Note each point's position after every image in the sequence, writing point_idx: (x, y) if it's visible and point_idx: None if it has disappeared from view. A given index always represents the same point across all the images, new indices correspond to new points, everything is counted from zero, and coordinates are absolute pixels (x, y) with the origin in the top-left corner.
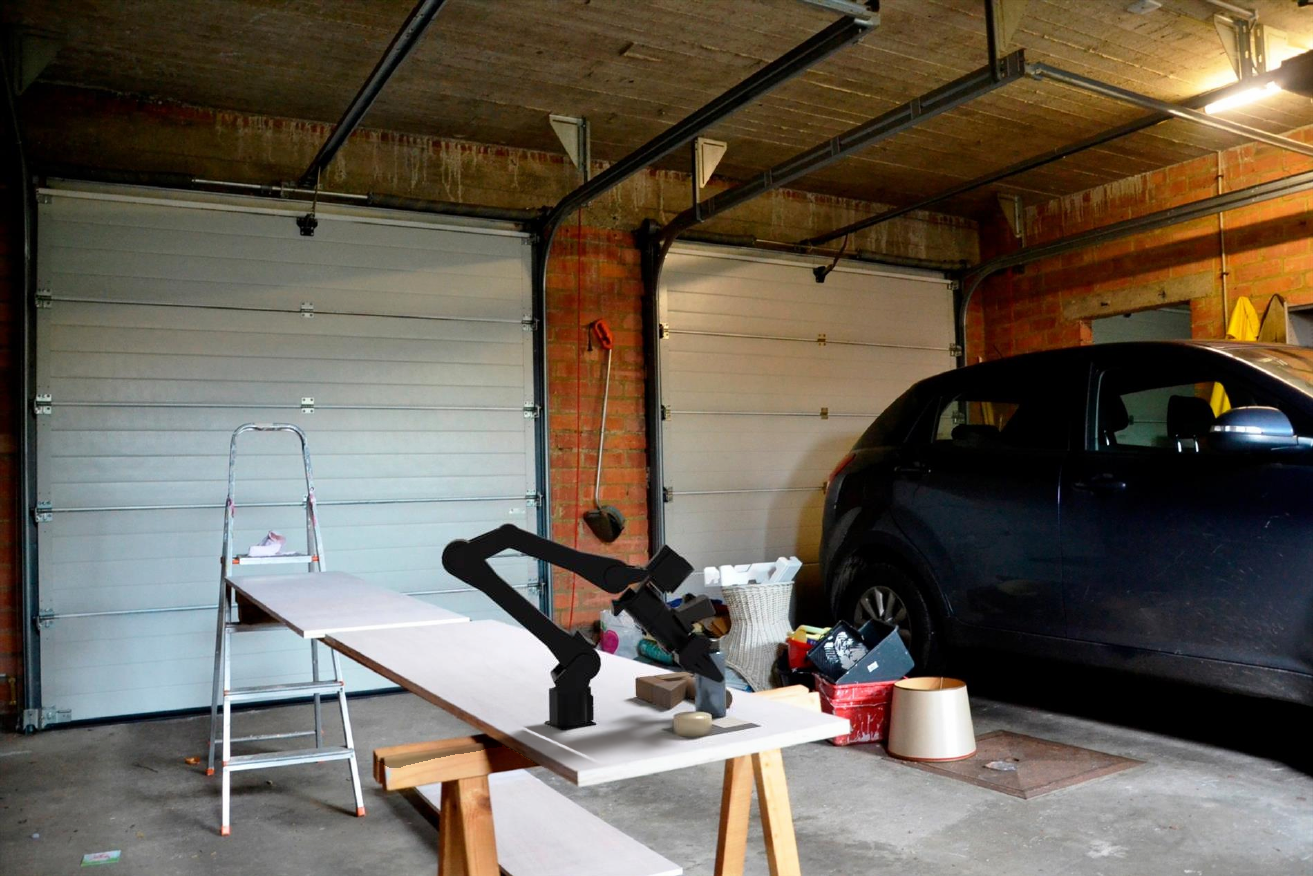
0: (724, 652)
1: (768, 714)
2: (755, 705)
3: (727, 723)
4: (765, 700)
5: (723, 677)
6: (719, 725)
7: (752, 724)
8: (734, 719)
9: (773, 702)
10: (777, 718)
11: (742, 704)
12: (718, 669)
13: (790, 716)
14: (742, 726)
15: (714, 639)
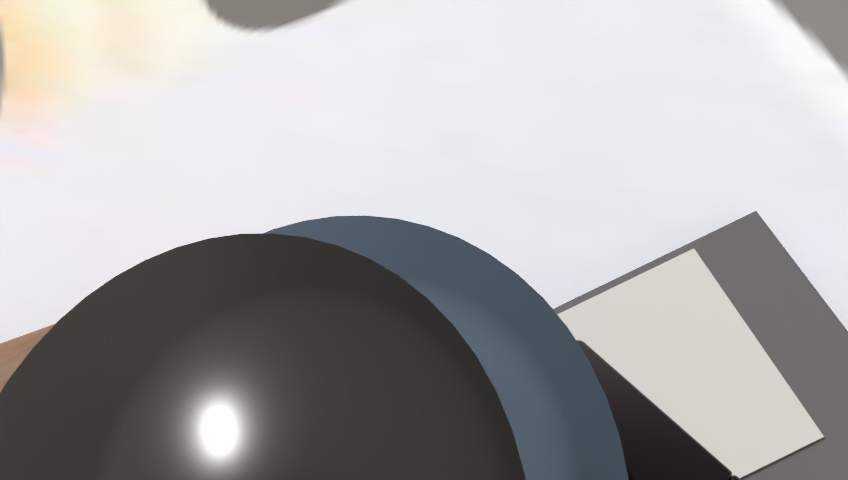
0: (459, 239)
1: (437, 130)
2: (239, 156)
3: (702, 389)
4: (160, 97)
5: (588, 348)
6: (753, 452)
7: (718, 249)
8: (599, 326)
9: (209, 72)
10: (528, 105)
11: (197, 210)
12: (656, 407)
13: (498, 47)
14: (766, 313)
15: (201, 360)
